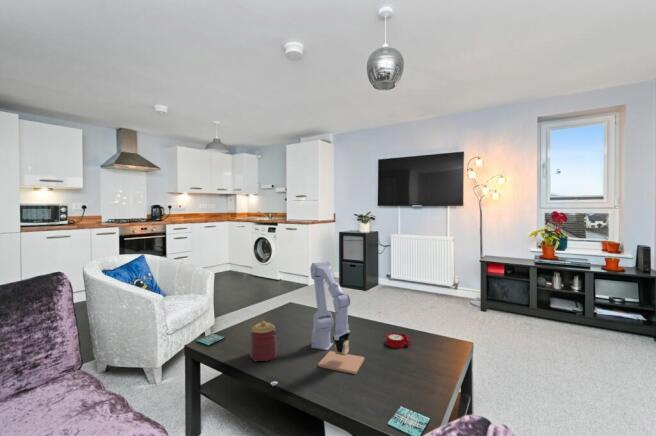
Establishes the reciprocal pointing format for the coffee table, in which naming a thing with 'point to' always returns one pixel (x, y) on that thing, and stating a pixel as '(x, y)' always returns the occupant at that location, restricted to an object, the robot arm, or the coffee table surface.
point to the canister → (263, 342)
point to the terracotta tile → (341, 362)
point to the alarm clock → (397, 340)
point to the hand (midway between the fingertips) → (341, 349)
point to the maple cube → (345, 348)
